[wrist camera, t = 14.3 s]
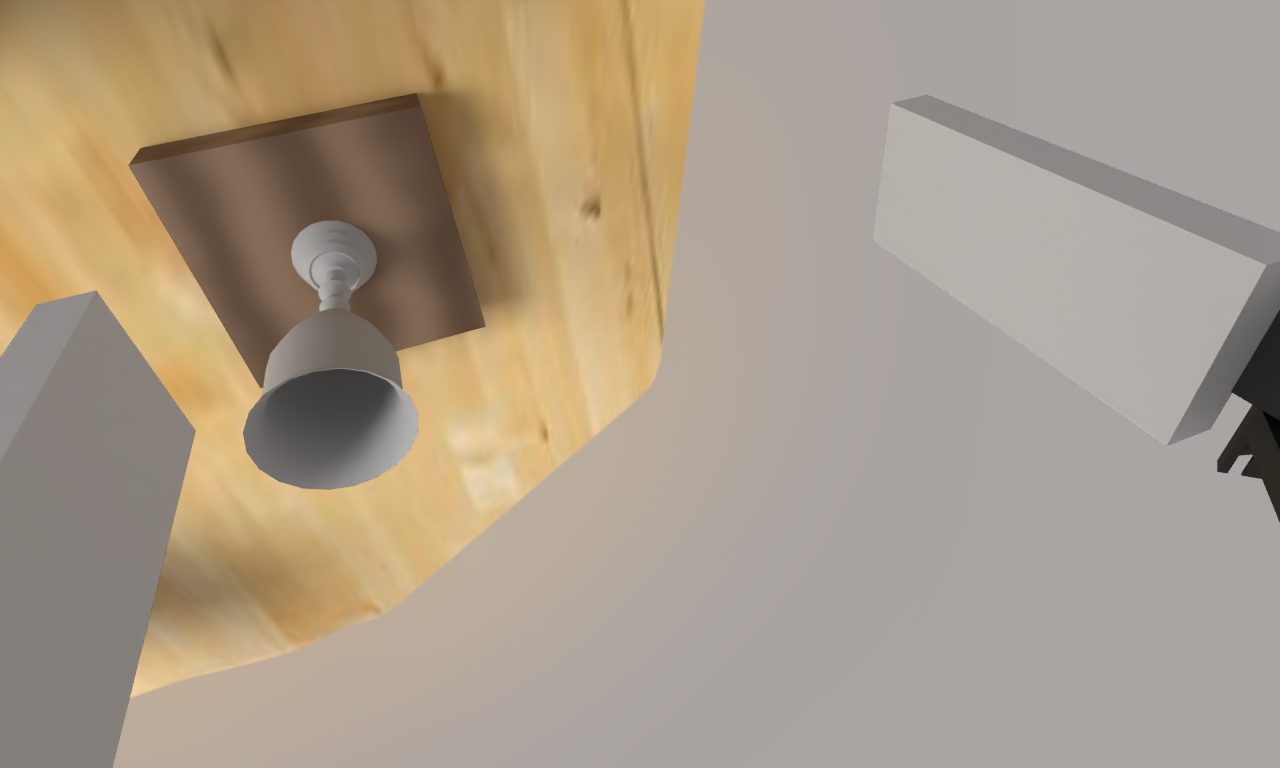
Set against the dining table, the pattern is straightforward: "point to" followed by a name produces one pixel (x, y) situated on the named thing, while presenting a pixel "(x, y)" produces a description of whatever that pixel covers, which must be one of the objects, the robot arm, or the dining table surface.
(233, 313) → the plinth
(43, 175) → the dining table surface
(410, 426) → the chalice
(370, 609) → the dining table surface
